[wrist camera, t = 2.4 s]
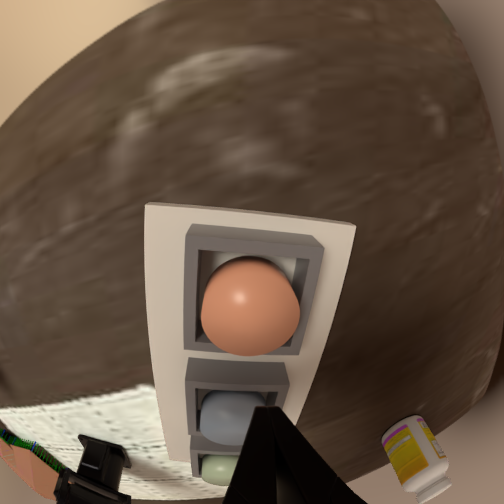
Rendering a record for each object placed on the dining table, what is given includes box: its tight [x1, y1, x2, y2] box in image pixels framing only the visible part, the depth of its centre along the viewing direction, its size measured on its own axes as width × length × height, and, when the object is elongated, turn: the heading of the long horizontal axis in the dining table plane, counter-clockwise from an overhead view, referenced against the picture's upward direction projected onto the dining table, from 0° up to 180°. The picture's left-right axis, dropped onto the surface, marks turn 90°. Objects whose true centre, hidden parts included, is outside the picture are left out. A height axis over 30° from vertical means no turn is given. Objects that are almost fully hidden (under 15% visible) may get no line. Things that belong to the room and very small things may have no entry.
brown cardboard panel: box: [0, 429, 72, 501], centre depth 27 cm, size 23×33×8 cm
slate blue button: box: [200, 390, 266, 446], centre depth 18 cm, size 5×5×2 cm
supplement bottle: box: [382, 415, 452, 504], centre depth 22 cm, size 7×7×13 cm
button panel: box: [144, 202, 356, 477], centre depth 20 cm, size 29×13×4 cm, turn 173°
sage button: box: [202, 454, 239, 486], centre depth 21 cm, size 5×5×2 cm
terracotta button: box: [201, 256, 300, 356], centre depth 15 cm, size 5×5×2 cm
